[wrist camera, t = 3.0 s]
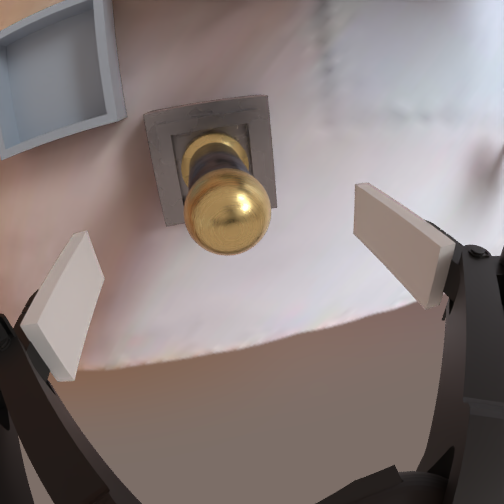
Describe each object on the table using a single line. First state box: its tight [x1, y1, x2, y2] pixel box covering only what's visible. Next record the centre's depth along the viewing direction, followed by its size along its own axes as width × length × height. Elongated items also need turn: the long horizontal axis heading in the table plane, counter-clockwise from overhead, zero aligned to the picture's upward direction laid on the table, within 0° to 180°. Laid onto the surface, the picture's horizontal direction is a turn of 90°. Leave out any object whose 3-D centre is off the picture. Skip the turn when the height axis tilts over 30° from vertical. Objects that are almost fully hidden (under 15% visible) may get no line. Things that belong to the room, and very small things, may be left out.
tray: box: [0, 0, 127, 161], centre depth 20 cm, size 12×12×4 cm
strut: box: [181, 131, 271, 255], centre depth 20 cm, size 5×5×13 cm
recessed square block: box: [144, 95, 277, 226], centre depth 26 cm, size 10×10×4 cm
